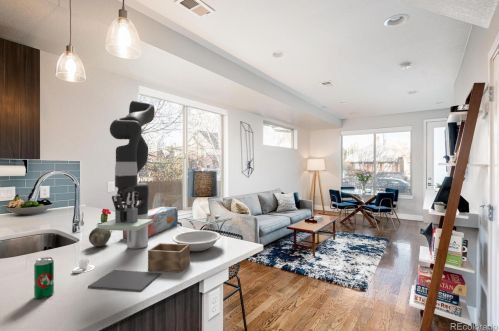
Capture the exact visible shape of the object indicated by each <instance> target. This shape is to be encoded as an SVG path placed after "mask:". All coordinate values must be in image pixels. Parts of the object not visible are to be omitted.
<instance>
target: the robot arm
mask: <svg viewBox="0 0 499 331" xmlns="http://www.w3.org/2000/svg"><path fill="white" fill-rule="evenodd" d="M155 110H156V109H155V106H154V104H152V103H150V102H145V101H138V100H131V102H130V103H129V106H128V114H127V115H125V116H124V117H120V118H116V119H115V120H113V121H112V122H111V124H110V125H109V133H110V136H112V137H113V138H114V139H116V140H128V143H127V144H124V145H119V146H116V148H115V164H114V165H115V167H114V186H115V188H117V192H116V194H115V195H112V196H111V200H112V203H113V206H114V209H115V210H116V211H120V221H121V222H126V221H127V212H126V211H127V208H138V219H148V210H149V194H150V193H149V185H148V184H147V182H146V183H145V182H140V183H139V182H138V174H139V173H140V172H141V170H143V168H144V167H145V165H146V164H147V163H148V161H149V160H148V159H149V146H148V144H147V142H146V140H145V138H144V137H143V136H142V133H143V132H142V131H143V128H142V127H143V126H145V125H147V124H148V123H149V124H150V123H151V122H153V120H154V119H155V112H156V111H155ZM138 201H139V203H138ZM115 210H114V211H115ZM148 246H149V237H148V225H147V226H146V227H143V228H141V229H139V230H137V231H127V238H126V247H127V248H129V249H131V250H134V249H136V250H137V249H143V248H146V247H148Z"/></svg>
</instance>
